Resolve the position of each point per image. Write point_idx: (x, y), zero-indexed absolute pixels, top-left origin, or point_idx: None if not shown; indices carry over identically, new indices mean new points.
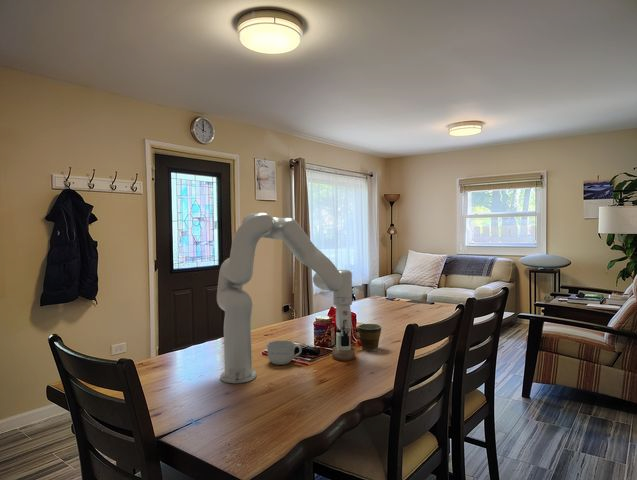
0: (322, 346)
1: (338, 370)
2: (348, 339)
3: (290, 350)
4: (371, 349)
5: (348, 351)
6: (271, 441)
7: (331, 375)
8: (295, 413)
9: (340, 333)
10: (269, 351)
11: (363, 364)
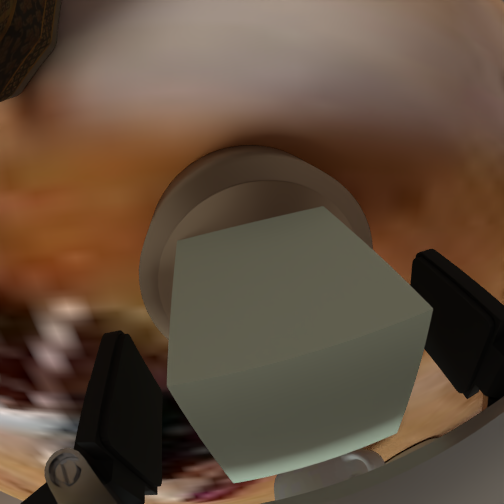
0: (34, 382)
1: (468, 252)
2: (479, 294)
3: None
4: (56, 2)
5: (358, 225)
6: None
7: (497, 274)
8: None
9: (291, 449)
10: None
11: (414, 91)
